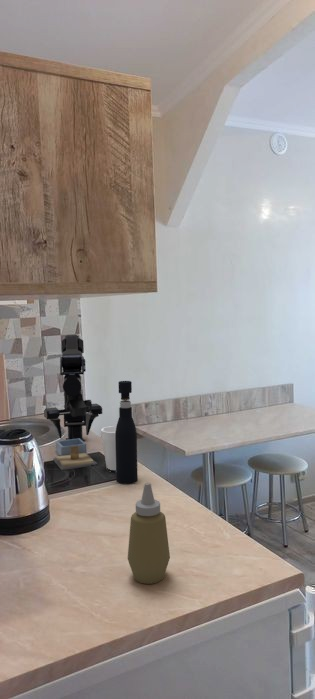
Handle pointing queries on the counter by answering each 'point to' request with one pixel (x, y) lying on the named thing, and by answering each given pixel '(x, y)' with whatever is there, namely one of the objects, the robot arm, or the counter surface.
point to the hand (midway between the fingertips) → (74, 436)
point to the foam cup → (109, 446)
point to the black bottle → (126, 439)
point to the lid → (74, 458)
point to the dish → (65, 445)
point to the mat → (72, 466)
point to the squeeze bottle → (148, 540)
